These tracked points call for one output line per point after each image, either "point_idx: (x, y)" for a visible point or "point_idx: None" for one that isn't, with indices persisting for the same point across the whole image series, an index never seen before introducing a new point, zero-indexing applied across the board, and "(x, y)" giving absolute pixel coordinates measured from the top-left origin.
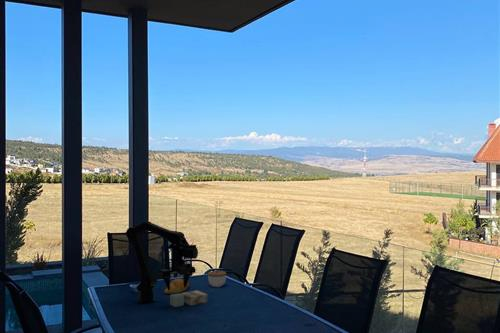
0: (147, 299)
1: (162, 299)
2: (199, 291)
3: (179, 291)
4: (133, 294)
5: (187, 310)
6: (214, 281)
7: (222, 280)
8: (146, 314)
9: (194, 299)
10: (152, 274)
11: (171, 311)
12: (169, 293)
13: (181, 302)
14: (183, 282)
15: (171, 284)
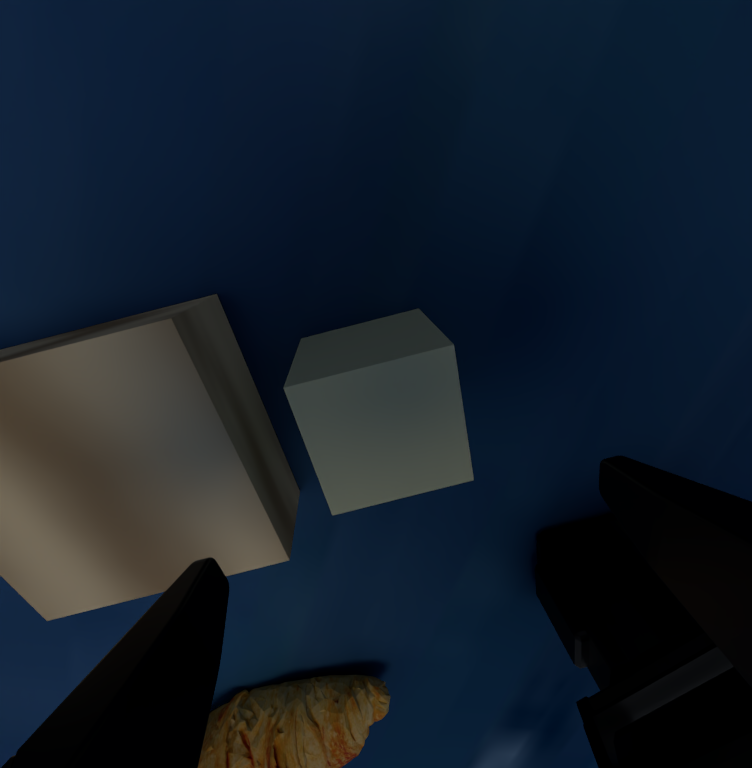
0: (615, 544)
1: (443, 571)
2: (8, 572)
3: (257, 695)
4: (572, 697)
5: (306, 46)
6: None
7: None
8: None
9: (122, 325)
10: None
11: (531, 115)
12: (345, 675)
13: (331, 342)
14: (209, 712)
15: None
